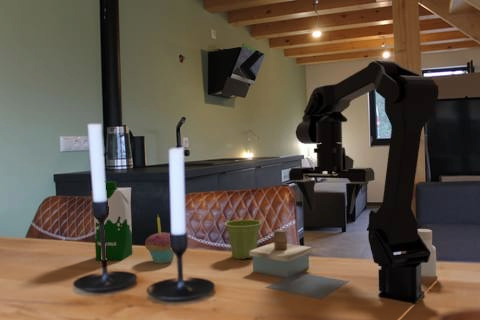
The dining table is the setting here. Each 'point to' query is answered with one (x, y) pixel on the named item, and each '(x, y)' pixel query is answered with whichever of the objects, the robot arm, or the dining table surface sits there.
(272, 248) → the lid
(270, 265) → the open box
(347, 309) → the dining table surface
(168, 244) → the cupcake
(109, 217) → the milk carton
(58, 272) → the dining table surface
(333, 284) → the mat
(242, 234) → the plant pot
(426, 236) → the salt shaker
